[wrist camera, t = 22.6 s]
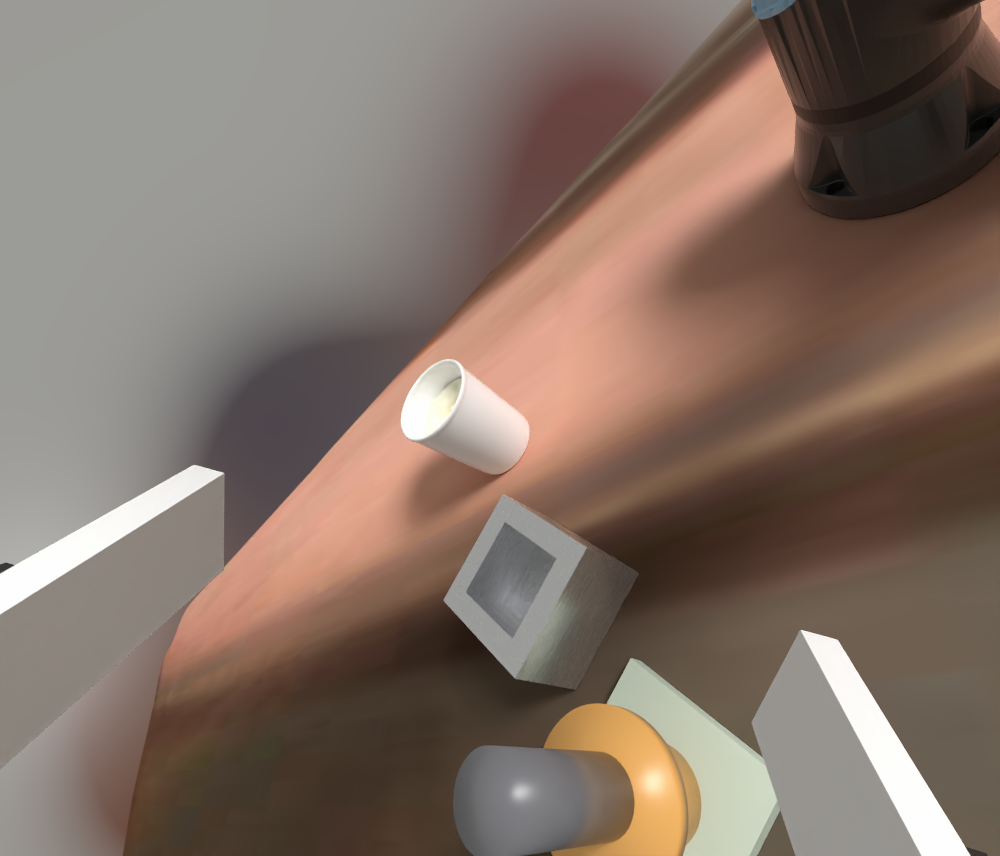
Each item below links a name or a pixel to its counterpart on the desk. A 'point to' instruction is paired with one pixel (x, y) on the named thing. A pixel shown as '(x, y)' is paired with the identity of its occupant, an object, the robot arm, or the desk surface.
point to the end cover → (580, 792)
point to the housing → (538, 595)
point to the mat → (706, 765)
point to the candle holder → (464, 419)
